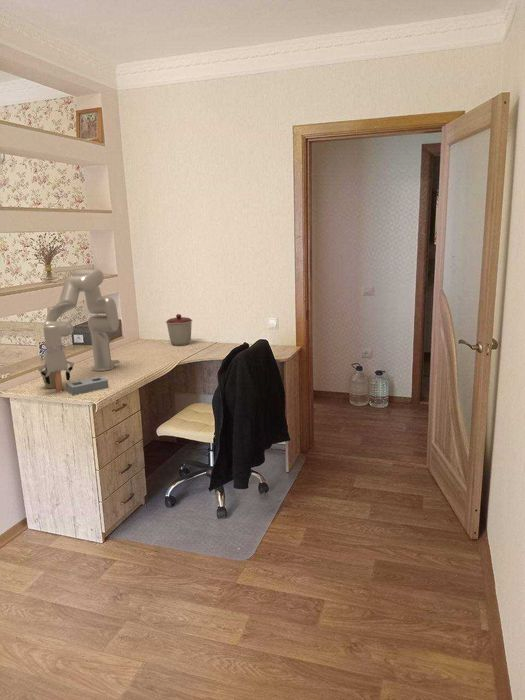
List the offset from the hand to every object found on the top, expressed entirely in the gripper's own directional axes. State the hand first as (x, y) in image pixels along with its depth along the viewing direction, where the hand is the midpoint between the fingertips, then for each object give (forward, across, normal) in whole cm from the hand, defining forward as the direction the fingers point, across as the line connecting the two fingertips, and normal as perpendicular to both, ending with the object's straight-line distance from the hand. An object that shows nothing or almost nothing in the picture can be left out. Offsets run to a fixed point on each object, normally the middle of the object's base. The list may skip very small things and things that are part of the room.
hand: (58, 381), depth 269 cm
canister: (+4, -97, -51) cm, 110 cm away
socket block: (+5, -12, +7) cm, 15 cm away
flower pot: (+5, +1, -11) cm, 12 cm away
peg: (+5, 0, 0) cm, 5 cm away
